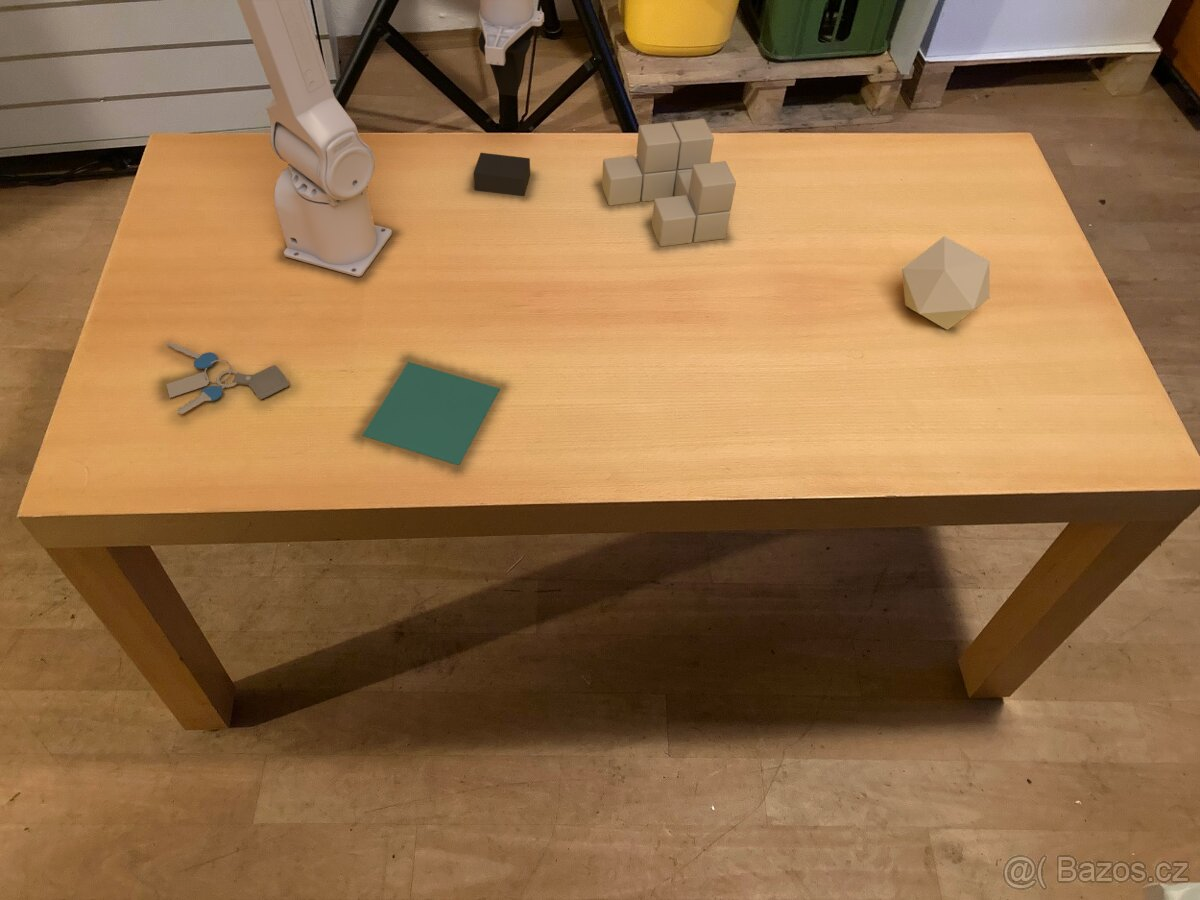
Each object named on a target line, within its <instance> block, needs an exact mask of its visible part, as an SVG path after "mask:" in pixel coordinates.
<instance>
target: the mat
mask: <svg viewBox="0 0 1200 900" xmlns="http://www.w3.org/2000/svg"><path fill="white" fill-rule="evenodd" d="M500 390H501V388H500V387H498V386H497V387H496V386H493V385H490V384H487V383H483V382H479V381H477V380H473V379H470V378H467V377H463V376H460V375H456V374H452V373H450V372H445V371H443V370H438V369H435V368H431V367H429V366H426V365H425V366H424V365H422V364H417V363H414V362H412V361H407V363H406V365H405V366H404V368H403V369H402V371H401V373H400V374H399V376H398V377H397V379H396V380H395V382H394V384H393V385H392V387H391V389H390V390H389V391H388V394H387V395H386V397H385V398H384V399H383V402H382V403H381V405H379V408H378V410H377V411H376V412H375V414H374V416H373V418H372V419H371V420H370V422H369V424H368V426H367V427H366V428H365V430H364V431H363V433H362V437H365V438H368V439H372V440H375V441H378V442H381V443H383V444H384V443H385V444H387V445H391V446H393V447H397V448H401V449H404V450H406V451H407V450H408V451H410V452H414V453H416V454H420V455H423V456H425V457H426V456H427V457H430V458H433V459H435V460H439V461H443V462H445V463H449V464H452V465H456V466H460V465H461V463H462V462H463V459H464V457H465V455H466V454H467V452H468V450H469V448H470V446H471V445H472V443H473V440H474V439H475V438H476V435H477V433H478V431H479V429H480V427H481V425H482V423H483V422H484V420H485V418H486V416H487V414H488V412H489V411H490V408H491V407H492V405H493V403H494V401H495V400H496V398H497V396H498V393H499V392H500Z"/></svg>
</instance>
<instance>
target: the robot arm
mask: <svg viewBox="0 0 1200 900" xmlns="http://www.w3.org/2000/svg"><path fill="white" fill-rule="evenodd" d="M236 1H237V4H238V6H239V9H240V11H241V15H242V17H243V19H244V22H245V26H246V27H247V30H248V33H249V35H250V37H251V41H252V43H253V46H254V48H255V51H256V53H257V56H258V58H259V62H260V65H261V66H262V69H263V72H264V75H265V77H266V80H267V81H268V84H269V85H268V86H269V87H270V90H271V93H272V95H273V97H274V98H273V99H272V100H271V101H270V103H269V104H267V106H266V108H265V109H266V112H267V115H268V118H269V122H270V131H269V143H270V146H271V149H272V151H273V153H274V154H275V156H276V157H277V158H279V160H282V161H283V162H285V163H287V164H288V166H286V167H285V168H283V170H282V171H281V172H280V174H279V176H278V178H277V179H276V182H275V186H274V191H273V205H274V209H275V213H276V216H277V219H278V222H279V225H280V229H281V232H282V235H283V238H284V239H283V240H284V242H285V245H286V248H285V249H284V250H283V256H284V257H285V258H289V259H292V260H296V261H300V262H303V263H307V264H310V265H314V266H317V267H320V268H321V267H322V268H324V269H328V270H332V271H336V272H339V273H343V274H345V275H350V276H353V277H362V276H363V275H364V274H365V272H366V271H367V270H368V268H369V267H370V266H371V264H372V263H373V262H374V260H375V258H376V257H377V256H378V254H379V253H380V252H381V250H382V249H383V248H384V246H385V245H386V244H387V242H388V241H389V239H390V238H391V236H393V232H392V231H393V230H392V229H391V228H387V227H384V226H382V225H381V226H380V225H376V224H375V221H374V217H373V211H372V206H371V202H370V197H369V191H368V188H369V184H370V182H372V179H373V176H374V173H375V169H376V158H375V154H374V152H373V149H372V148H371V147H370V145H369V144H367V143H366V142H365V141H364V140H363V139H362V138H361V136H360V134H359V131H358V128H357V126H356V124H355V123H354V122H355V121H353V119H352V118H351V117H350V115H349V114H348V113H347V111H345V109H344V108H343V106H342V105H341V104H340V102H339V100H338V99H337V98H336V95H335V93H334V90H333V87H332V84H331V80H330V77H329V74H328V71H327V68H326V65H325V62H324V59H323V55H322V52H321V49H320V46H319V43H318V39H317V36H316V34H315V30H314V27H313V24H312V21H311V18H310V14H309V11H308V7H307V5H306V2H305V0H236ZM478 20H479V24H480V27H481V32H480V35H479V37H478V41H477V42H478V48H479V51H481V53H482V54H483V55H484V57H485V64H487V65H489V66H490V69H491V71H492V75H493V78H494V81H495V84H496V87H497V91H498V93H499V94H500V95H501V96H502V95H503V96H512V97H516V96H518V93H519V90H520V86H521V84H522V80H523V75H524V71H525V64H526V58H527V57H526V56H527V53H528V51H529V50H530V46H531V43H532V40H531V39H532V38H533V36H534V34H535V32H536V28H537V27H541V26H542V25H543V24H544V20H545V12H543V10H537V9H536V10H535V8H534V0H479V9H478Z"/></svg>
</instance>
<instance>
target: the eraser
mask: <svg viewBox="0 0 1200 900" xmlns="http://www.w3.org/2000/svg"><path fill="white" fill-rule="evenodd" d="M530 177H531V158H530V157H523V156H513V155H505V154H497V153H486V152H480V153H479V156H478V159H477V162H476V165H475V168H474V170H473V183H474V191H479V192H486V193H487V192H488V193H495V194H504V195H512V196H522V197H525V195H526V192H527V188H528V185H529V181H530Z"/></svg>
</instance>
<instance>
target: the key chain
mask: <svg viewBox="0 0 1200 900" xmlns="http://www.w3.org/2000/svg"><path fill="white" fill-rule="evenodd" d="M165 345H166V346H167V347H170V348H172V349H173V350H175V351H177V352H180V353H182V354H184V355H185V356H189V357H192V358H194V361H193V366H194V367H195V368H196V369H199V370H204V371H202V372H199V373H196V374H193V375H191V376H187V377H184V378H181V379H178V380H174V381H172V382H169V383H166V384H165V385H166V389H167V392H168V397H169V399H171V398H174V397H178V396H181V395H182V394H186V393H189V392H192V391H195V390H199V389H201V388H203V389H202V390H201V391H200V395H199V394H198V395H196V397H194V399H191V400H188V403H187V402H186V403H184V405H183V406H179V407H178V409H177V410H176V411H177V414H178V415H184V414H185V413H187V412H189V411H190V410H192V409H194V408H195V407H198V406H199V405H200V404H203V403H204V402H214V401H217V400H219V399H220V398H221V397H222V396H223V393H224V391H223V390H224V389H225V388H226V389H229V388H233V387H234V386H236V385H244V386H249V388H250V389H251V390H252V391H253V393H254V394H255V395H256V396H257V398H258V399H259V400H264V399H266V398H268V397H270V396H271V395H274V394H276V393H278V392H279V391H282V390H283V389H286V388H287V387H289V386H290V384H291V383H290V381H289V380H288V378H287V377H286V376H285V375H284V374H283V372H282V371H281V370H280V368H279V367H278V366H277V365H275V364H273V365H271V366H269V367H266V368H265V369H263V370H260V371H258V372H256V373H254V374H246V373H241V372H238V371H237V370H235V369H232V365H231V363H230V361H228V360H226V359H218V355H217V354H216V353H215V352H211V351H210V352H204V353H202V354H200V353H199V352H195V351H192V350H190V349H189V348H186V347H184V346H180V345H179V344H176V343H173V342H171V341H167V342H166V343H165ZM217 362H225V363H226V364H227V365H228V366H229V369H225V370H223V371H221V372H219V374H218V375H217V377H216V381H213V380H211V379H210V378H209V376H208V374H207V370H208V368H211V367H212V366H214V365H215V364H216V363H217ZM226 374H228V375H227V376H226V377H225V378H223V379H222V380H221V378H222V377H223V376H224V375H226ZM231 374H234V377H233V380H232V383H228V381H227V379H228V378H229V377H230V375H231ZM223 382H224V383H223ZM210 383H212V384H217V385H209V384H210Z"/></svg>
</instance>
